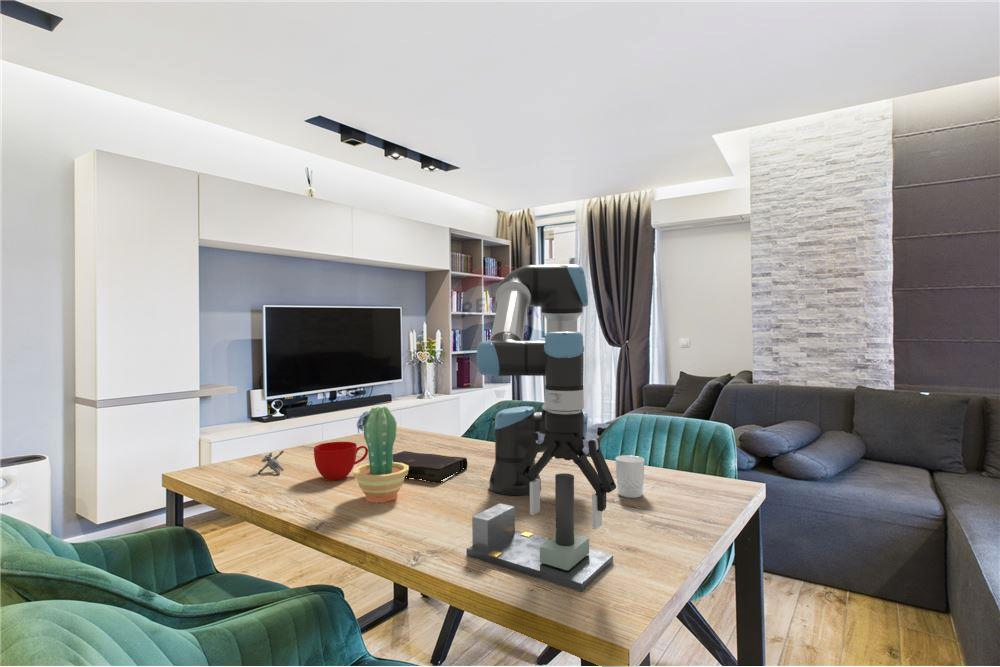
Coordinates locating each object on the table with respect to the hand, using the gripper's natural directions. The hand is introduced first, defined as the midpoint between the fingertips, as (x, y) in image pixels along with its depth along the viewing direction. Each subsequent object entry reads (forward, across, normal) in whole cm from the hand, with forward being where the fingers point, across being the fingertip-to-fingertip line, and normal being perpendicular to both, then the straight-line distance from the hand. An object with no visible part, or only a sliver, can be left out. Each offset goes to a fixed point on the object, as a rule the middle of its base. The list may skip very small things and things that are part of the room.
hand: (564, 519), depth 101 cm
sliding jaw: (+7, 0, 0) cm, 7 cm away
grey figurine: (+10, -111, +7) cm, 112 cm away
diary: (+10, -71, +34) cm, 79 cm away
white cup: (+10, -6, +50) cm, 51 cm away
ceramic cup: (+9, -88, +16) cm, 90 cm away
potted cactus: (+9, -62, +9) cm, 63 cm away
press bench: (+9, -6, 0) cm, 11 cm away
